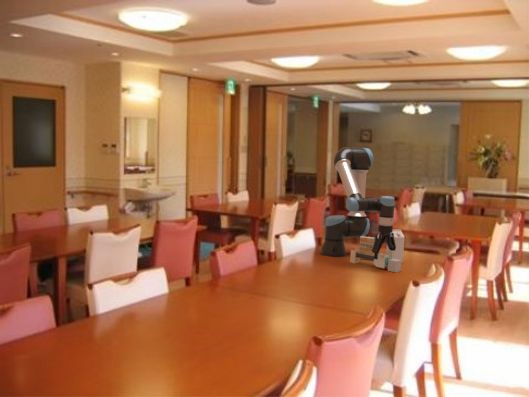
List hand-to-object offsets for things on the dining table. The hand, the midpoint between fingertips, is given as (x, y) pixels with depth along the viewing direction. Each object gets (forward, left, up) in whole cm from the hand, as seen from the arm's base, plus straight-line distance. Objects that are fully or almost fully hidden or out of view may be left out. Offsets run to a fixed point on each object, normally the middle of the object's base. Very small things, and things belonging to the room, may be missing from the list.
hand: (383, 263), depth 308 cm
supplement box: (-20, +14, -3) cm, 25 cm away
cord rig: (-5, 0, -3) cm, 6 cm away
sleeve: (0, 0, -2) cm, 2 cm away
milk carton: (-6, +22, -3) cm, 23 cm away
